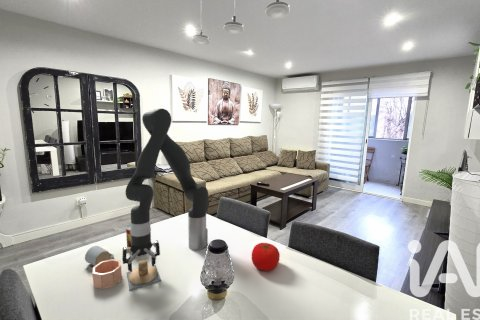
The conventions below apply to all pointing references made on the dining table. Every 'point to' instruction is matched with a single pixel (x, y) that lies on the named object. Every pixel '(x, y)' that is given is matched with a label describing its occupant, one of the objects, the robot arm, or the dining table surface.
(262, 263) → the tomato
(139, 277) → the lid
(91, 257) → the ceramic mug
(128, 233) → the canned food
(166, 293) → the dining table surface
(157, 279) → the mat
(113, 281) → the bowl
